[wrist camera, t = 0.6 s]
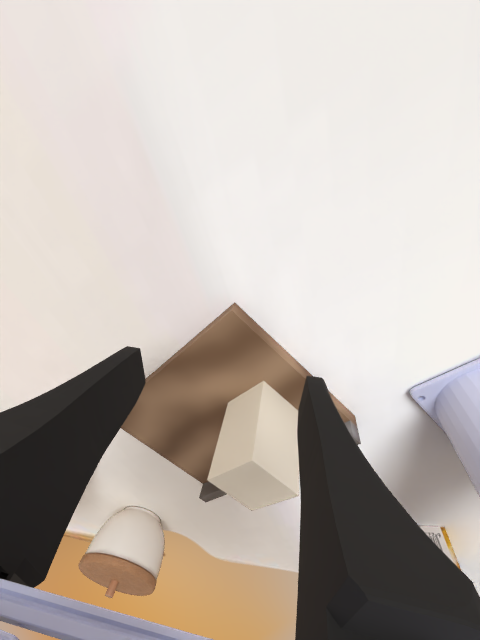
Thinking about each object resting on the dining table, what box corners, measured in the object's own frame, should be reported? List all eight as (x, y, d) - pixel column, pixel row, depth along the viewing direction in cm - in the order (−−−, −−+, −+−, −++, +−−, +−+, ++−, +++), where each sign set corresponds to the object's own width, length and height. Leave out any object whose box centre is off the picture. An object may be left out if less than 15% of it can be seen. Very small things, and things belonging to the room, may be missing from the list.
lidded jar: (174, 539, 46) (150, 618, 39) (114, 522, 47) (77, 597, 39) (174, 508, 41) (145, 595, 33) (105, 490, 41) (61, 570, 34)
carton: (263, 380, 23) (252, 460, 17) (298, 411, 24) (299, 495, 18) (225, 403, 25) (204, 481, 19) (259, 430, 26) (248, 511, 20)
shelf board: (355, 416, 25) (362, 444, 23) (213, 478, 34) (207, 503, 32) (234, 302, 21) (226, 322, 19) (111, 408, 31) (96, 430, 28)
